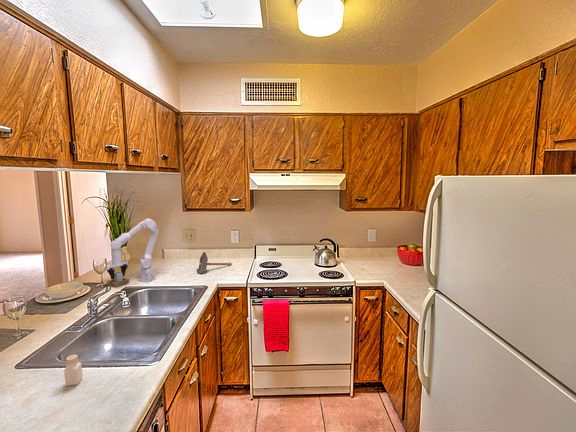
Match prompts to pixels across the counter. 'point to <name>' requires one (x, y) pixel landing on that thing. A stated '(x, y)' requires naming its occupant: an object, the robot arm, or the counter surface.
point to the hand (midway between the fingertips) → (118, 277)
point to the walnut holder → (118, 284)
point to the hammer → (204, 263)
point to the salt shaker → (73, 371)
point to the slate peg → (118, 277)
